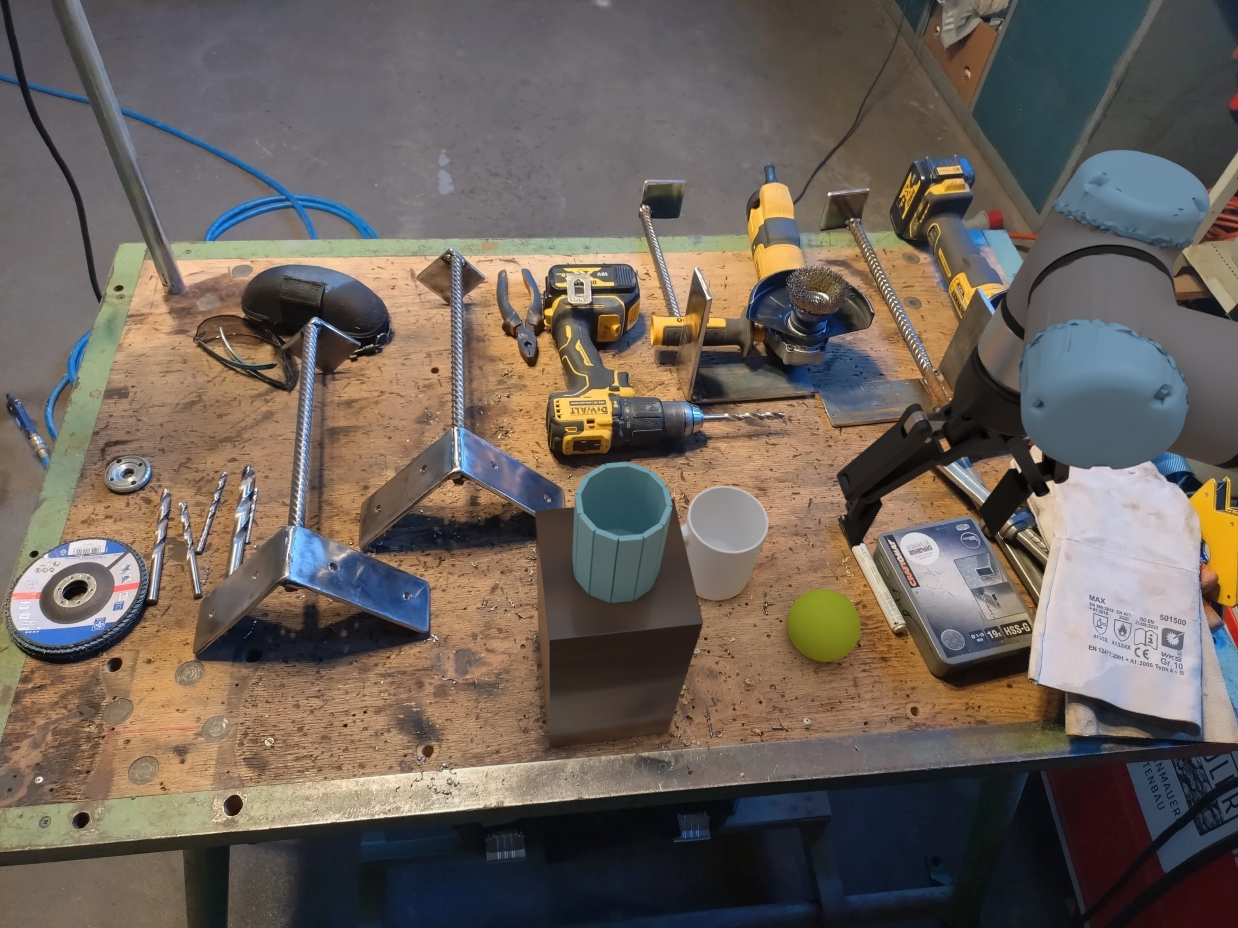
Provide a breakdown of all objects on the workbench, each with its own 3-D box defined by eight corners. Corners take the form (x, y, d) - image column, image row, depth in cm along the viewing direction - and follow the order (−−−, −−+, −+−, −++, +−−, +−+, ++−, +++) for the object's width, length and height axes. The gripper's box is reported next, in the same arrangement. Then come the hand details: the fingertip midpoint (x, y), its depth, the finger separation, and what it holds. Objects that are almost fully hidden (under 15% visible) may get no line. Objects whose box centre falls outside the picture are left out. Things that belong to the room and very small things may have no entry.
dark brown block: (668, 732, 81) (703, 623, 62) (549, 748, 79) (548, 640, 60) (647, 625, 88) (674, 498, 69) (538, 637, 87) (535, 510, 68)
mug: (640, 545, 95) (649, 492, 86) (738, 535, 96) (756, 481, 88) (654, 610, 89) (665, 560, 81) (757, 598, 91) (778, 548, 83)
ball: (858, 669, 87) (880, 637, 81) (790, 677, 86) (808, 646, 80) (836, 606, 91) (856, 572, 85) (772, 613, 90) (787, 579, 84)
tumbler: (665, 597, 63) (679, 535, 56) (578, 606, 62) (582, 544, 55) (650, 525, 68) (661, 458, 60) (568, 532, 67) (570, 465, 59)
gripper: (1152, 322, 62) (1025, 485, 79) (846, 338, 59) (781, 505, 75) (1209, 393, 58) (1061, 550, 74) (881, 415, 54) (803, 574, 71)
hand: (920, 527), depth 75 cm, fingers open, 13 cm apart
